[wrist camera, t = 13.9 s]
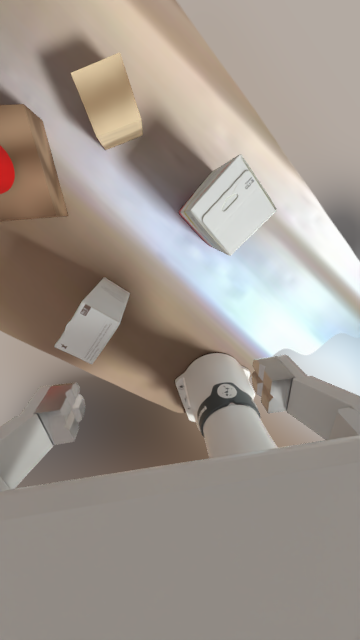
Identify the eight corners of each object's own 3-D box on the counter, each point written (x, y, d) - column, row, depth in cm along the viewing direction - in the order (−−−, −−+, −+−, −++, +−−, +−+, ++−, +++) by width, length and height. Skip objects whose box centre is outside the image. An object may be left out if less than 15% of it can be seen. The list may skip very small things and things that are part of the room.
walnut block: (68, 215, 35) (56, 216, 31) (-9, 221, 35) (-33, 222, 30) (42, 120, 30) (23, 104, 26) (-50, 124, 29) (-86, 108, 25)
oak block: (142, 135, 32) (141, 119, 27) (105, 150, 32) (96, 137, 27) (125, 82, 30) (119, 52, 24) (85, 98, 30) (70, 72, 24)
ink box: (209, 247, 40) (230, 259, 30) (176, 211, 37) (187, 210, 27) (244, 211, 38) (280, 209, 28) (213, 169, 35) (240, 149, 24)
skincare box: (110, 322, 45) (92, 368, 31) (82, 307, 42) (51, 349, 29) (131, 290, 42) (122, 325, 29) (103, 273, 40) (79, 301, 27)
